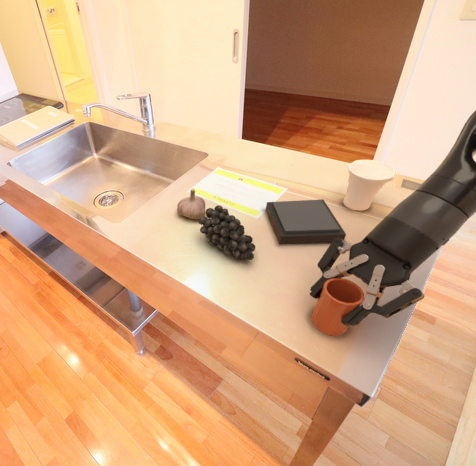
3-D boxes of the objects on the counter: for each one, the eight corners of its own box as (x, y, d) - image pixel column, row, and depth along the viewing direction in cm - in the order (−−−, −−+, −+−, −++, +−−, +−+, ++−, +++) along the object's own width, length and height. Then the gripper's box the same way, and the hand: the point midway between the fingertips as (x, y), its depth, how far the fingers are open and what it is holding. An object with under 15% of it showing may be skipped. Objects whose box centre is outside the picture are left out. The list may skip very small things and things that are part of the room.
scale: (322, 207, 79) (325, 196, 77) (344, 242, 69) (349, 231, 67) (265, 209, 81) (267, 199, 79) (279, 244, 71) (281, 234, 69)
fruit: (266, 231, 61) (218, 194, 72) (231, 256, 61) (188, 215, 72) (270, 255, 68) (225, 217, 78) (238, 278, 67) (197, 237, 78)
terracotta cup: (339, 309, 57) (354, 277, 52) (352, 336, 53) (370, 304, 48) (306, 309, 58) (318, 278, 52) (317, 335, 54) (331, 305, 48)
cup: (362, 220, 73) (379, 183, 67) (327, 201, 80) (339, 165, 74) (389, 207, 75) (408, 170, 69) (353, 189, 82) (367, 154, 76)
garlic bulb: (209, 220, 80) (211, 194, 75) (181, 225, 80) (180, 199, 75) (200, 203, 86) (201, 178, 81) (174, 208, 86) (173, 183, 81)
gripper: (361, 197, 50) (285, 276, 55) (468, 252, 39) (362, 344, 44) (373, 213, 54) (302, 284, 60) (473, 266, 44) (376, 348, 49)
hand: (328, 309), depth 52 cm, fingers closed on terracotta cup, 5 cm apart
